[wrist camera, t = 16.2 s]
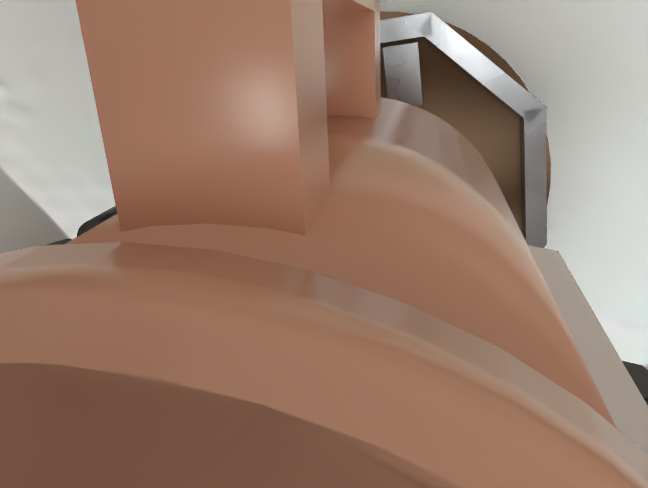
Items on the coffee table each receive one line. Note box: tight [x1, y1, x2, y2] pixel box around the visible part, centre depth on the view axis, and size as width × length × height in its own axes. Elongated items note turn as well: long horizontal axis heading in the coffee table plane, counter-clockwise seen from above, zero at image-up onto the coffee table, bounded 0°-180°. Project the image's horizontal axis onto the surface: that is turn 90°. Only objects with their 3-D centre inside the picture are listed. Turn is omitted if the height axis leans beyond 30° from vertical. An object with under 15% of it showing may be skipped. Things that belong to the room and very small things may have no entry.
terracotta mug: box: [0, 0, 648, 488], centre depth 9 cm, size 9×11×12 cm
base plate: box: [380, 12, 551, 232], centre depth 30 cm, size 18×18×1 cm
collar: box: [77, 12, 547, 248], centre depth 27 cm, size 24×17×6 cm
